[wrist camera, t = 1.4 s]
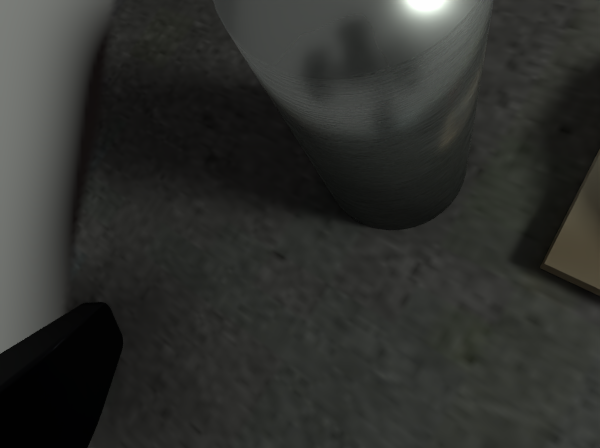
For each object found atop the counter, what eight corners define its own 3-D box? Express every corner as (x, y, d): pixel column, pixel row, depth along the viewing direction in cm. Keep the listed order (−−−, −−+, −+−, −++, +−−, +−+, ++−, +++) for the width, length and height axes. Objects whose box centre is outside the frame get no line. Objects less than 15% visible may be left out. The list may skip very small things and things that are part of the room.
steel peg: (425, 255, 22) (412, 123, 10) (301, 193, 24) (158, 18, 12) (492, 128, 23) (559, -146, 10) (365, 78, 25) (294, -203, 12)
